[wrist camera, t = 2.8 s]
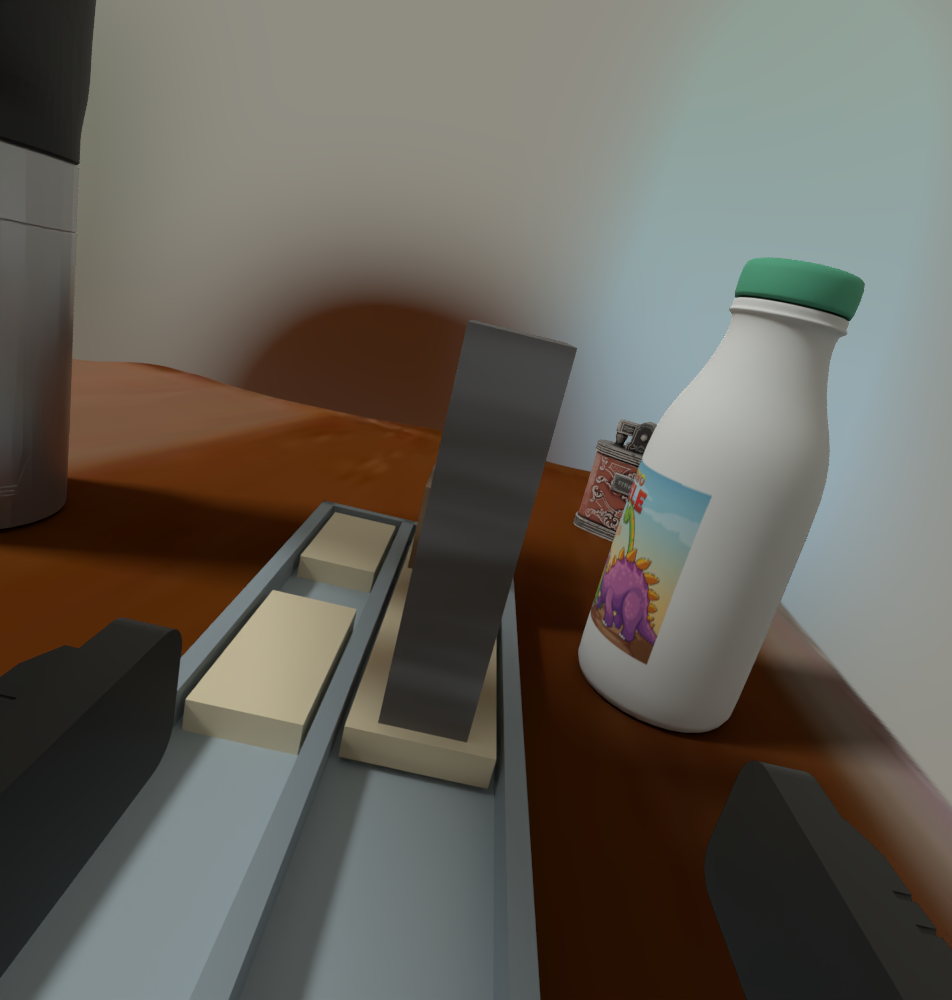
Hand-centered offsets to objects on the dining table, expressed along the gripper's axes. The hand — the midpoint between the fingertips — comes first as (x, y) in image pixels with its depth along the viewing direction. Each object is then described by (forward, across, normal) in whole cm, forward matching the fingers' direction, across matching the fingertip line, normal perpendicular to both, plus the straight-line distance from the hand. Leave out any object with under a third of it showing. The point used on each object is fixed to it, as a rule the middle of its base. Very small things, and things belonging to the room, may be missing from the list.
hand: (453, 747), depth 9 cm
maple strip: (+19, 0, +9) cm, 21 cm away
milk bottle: (+20, -11, +10) cm, 25 cm away
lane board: (+14, +3, +10) cm, 17 cm away
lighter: (+42, -14, +10) cm, 46 cm away
